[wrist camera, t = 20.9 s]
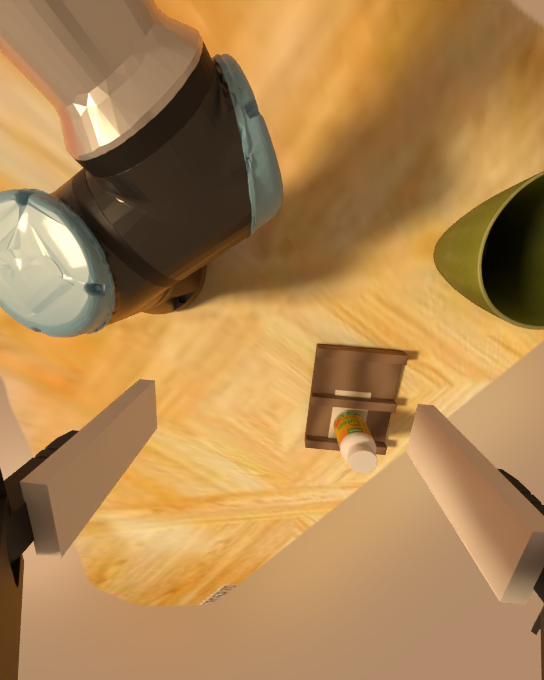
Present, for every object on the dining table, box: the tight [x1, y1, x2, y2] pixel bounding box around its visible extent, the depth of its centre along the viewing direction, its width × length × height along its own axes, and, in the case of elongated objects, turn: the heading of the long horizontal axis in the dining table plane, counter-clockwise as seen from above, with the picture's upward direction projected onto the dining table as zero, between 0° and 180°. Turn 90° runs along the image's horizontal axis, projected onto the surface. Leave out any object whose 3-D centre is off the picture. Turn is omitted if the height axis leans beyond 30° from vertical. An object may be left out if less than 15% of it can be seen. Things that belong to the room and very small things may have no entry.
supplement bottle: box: [333, 410, 377, 474], centre depth 44 cm, size 5×5×10 cm
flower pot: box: [434, 171, 544, 330], centre depth 33 cm, size 15×15×16 cm
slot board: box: [305, 344, 408, 455], centre depth 48 cm, size 14×20×2 cm
